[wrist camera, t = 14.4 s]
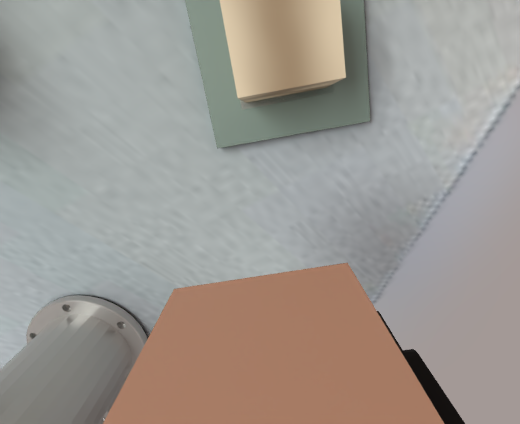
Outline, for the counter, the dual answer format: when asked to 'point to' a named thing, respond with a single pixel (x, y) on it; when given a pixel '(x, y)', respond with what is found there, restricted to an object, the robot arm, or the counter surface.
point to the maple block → (283, 46)
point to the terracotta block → (272, 357)
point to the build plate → (283, 107)
